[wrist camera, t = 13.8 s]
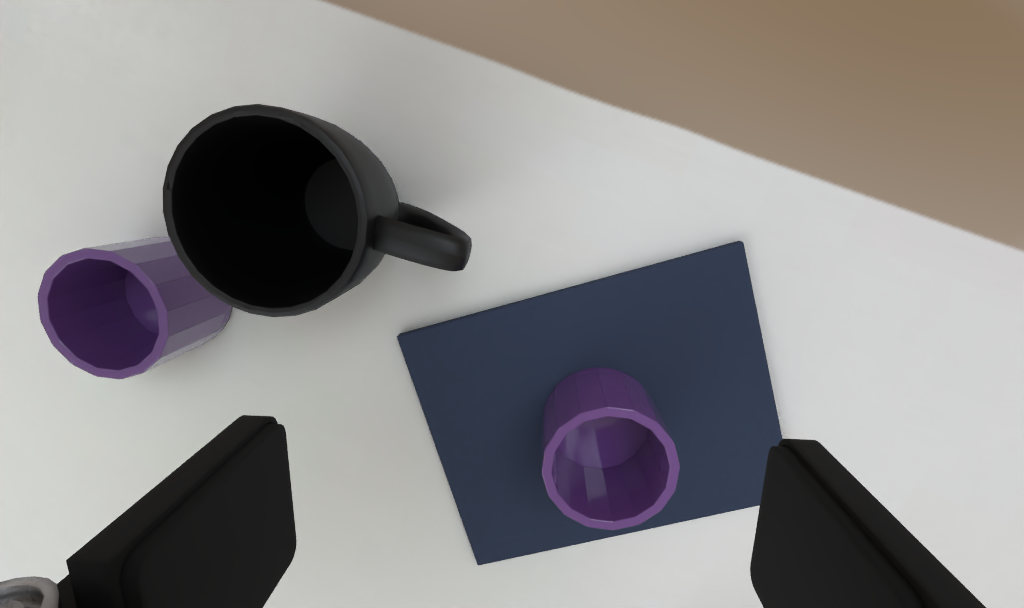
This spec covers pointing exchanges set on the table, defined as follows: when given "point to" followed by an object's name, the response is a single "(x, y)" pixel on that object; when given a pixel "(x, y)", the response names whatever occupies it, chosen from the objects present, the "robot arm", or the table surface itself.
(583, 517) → the ramekin
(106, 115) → the table surface
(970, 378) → the table surface
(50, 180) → the table surface
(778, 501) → the robot arm
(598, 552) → the table surface
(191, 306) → the ramekin
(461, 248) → the mug
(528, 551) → the placemat
